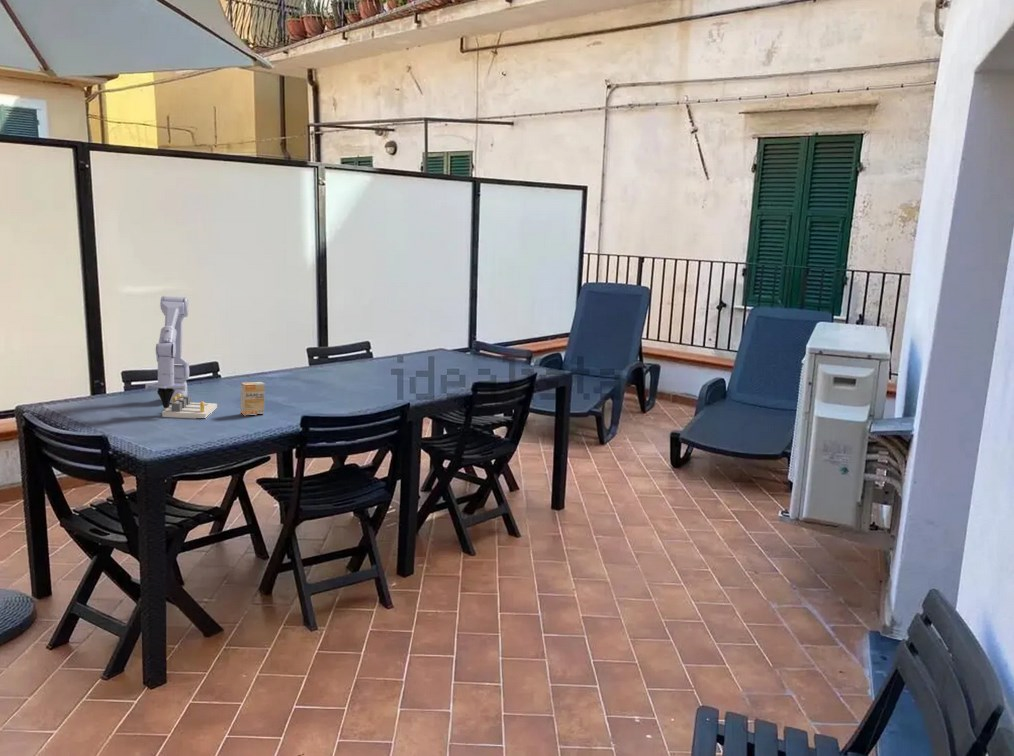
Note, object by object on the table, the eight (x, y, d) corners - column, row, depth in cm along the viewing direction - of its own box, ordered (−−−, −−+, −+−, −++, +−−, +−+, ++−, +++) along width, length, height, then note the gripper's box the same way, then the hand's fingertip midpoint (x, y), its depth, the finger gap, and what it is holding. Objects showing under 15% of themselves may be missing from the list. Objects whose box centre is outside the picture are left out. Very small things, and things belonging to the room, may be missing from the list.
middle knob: (178, 405, 299) (178, 397, 298) (186, 406, 299) (186, 397, 298) (176, 407, 296) (176, 399, 295) (184, 408, 296) (184, 399, 295)
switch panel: (176, 406, 305) (176, 392, 304) (217, 408, 307) (217, 394, 306) (162, 416, 289) (162, 401, 288) (205, 418, 291) (205, 403, 290)
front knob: (174, 409, 293) (174, 400, 293) (182, 409, 294) (182, 401, 293) (171, 411, 290) (171, 402, 290) (179, 411, 291) (179, 402, 290)
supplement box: (243, 416, 298) (244, 384, 296) (240, 414, 302) (240, 382, 300) (264, 415, 303) (265, 383, 301) (260, 412, 307) (261, 381, 304)
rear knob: (182, 402, 304) (182, 394, 303) (190, 403, 304) (190, 394, 304) (180, 404, 301) (180, 396, 300) (188, 404, 301) (188, 396, 301)
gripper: (142, 374, 284) (142, 409, 287) (182, 376, 286) (182, 410, 288) (149, 370, 291) (149, 404, 293) (188, 372, 293) (188, 406, 295)
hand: (166, 407), depth 291 cm, fingers closed
